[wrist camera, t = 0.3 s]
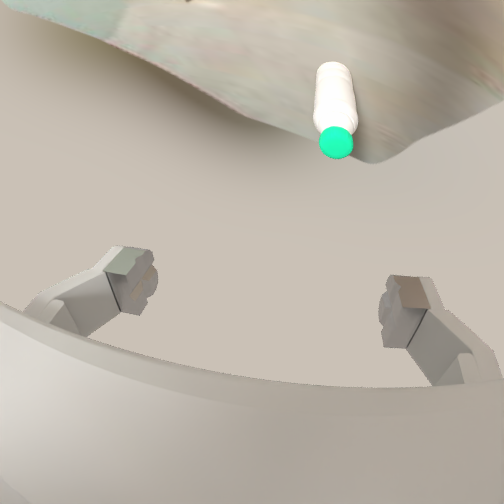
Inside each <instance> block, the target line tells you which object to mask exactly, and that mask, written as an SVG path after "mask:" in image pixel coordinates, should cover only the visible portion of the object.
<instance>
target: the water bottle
mask: <svg viewBox="0 0 504 504" xmlns="http://www.w3.org/2000/svg"><path fill="white" fill-rule="evenodd" d="M314 110H315V111H314V114H313V121H314V125H315V127H316V129H317V130H318V131H319V132H320V134H321V135H320V138H319V145H320V149H321V150H322V152H323V153H324V154H325V155H326V156H328V157H330V158H333V159H341V158H344V157H346V156H348V155H349V154H350V153H351V151H352V150H353V139H352V136H351V135H352V134H353V133H354V132H355V130H356V128H357V126H358V115H357V111H356V101H355V95H354V92H353V83H352V77H351V73H350V71H349V70H348V68H347V67H346V66H344V65H343V64H341V63H338V62H327V63H324V64H322V65H321V66H320V67H319V68H318V70H317V74H316V93H315V103H314Z"/></svg>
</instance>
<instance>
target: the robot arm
mask: <svg viewBox="0 0 504 504" xmlns="http://www.w3.org/2000/svg"><path fill="white" fill-rule="evenodd" d="M153 261H154V257H153V254H152V252H151V251H150V250H148V249H141V248H134V247H125V246H118V245H117V246H113V247H112V248H111V249H110V250H109V251H108V252H107V253H106V254H105V255H104V256H103V257H102V259H101V260H100V261H99V262H98V263H97V264H96V265H95V266H94V267H93V268H92V269H87V270H85V271H83V272H81V273H79V274H77V275H74V276H72V277H70V278H68V279H66V280H64V281H62V282H60V283H58V284H56V285H54V286H51V287H49V288H47V289H46V290H43V291H41V292H40V293H38V295H37V296H36V297H35V298H34V299H33V300H32V302H31V303H30V304H29V305H28V306H27V307H26V308H25V310H24V311H23V312H21V311H19V310H17V309H15V308H13V307H11V306H9V305H7V304H4V303H2V302H0V504H504V378H503V377H502V374H501V371H500V368H499V365H498V363H497V360H496V357H495V354H494V351H493V350H492V349H491V348H490V347H489V346H488V345H487V344H486V343H485V342H483V341H482V340H481V339H480V338H479V337H478V336H477V335H476V334H475V333H474V332H473V331H471V329H469V328H468V327H467V326H466V325H465V324H464V323H463V322H462V321H460V320H459V319H458V318H457V317H456V316H455V315H454V314H453V313H451V312H450V311H449V310H445V309H444V306H443V304H442V301H441V299H440V296H439V294H438V292H437V289H436V287H435V285H434V283H433V281H432V279H431V278H430V277H410V276H398V275H390V276H389V277H388V279H387V282H386V287H387V291H386V292H385V293H384V294H383V295H382V297H381V300H380V304H379V322H380V323H381V324H382V325H383V326H384V327H383V329H382V331H381V333H382V339H383V345H384V347H389V348H406V350H407V351H408V353H409V354H410V355H411V357H412V358H413V359H414V361H415V362H416V363H417V365H418V366H419V368H420V369H421V370H422V372H423V373H424V375H425V376H426V377H427V379H428V380H429V382H430V383H431V384H432V386H430V387H410V388H362V387H336V386H321V385H308V384H298V383H288V382H280V381H271V380H264V379H257V378H250V377H244V376H237V375H231V374H225V373H220V372H215V371H209V370H205V369H200V368H195V367H190V366H185V365H181V364H176V363H173V362H169V361H165V360H160V359H156V358H153V357H149V356H145V355H142V354H138V353H134V352H131V351H127V350H124V349H121V348H117V347H114V346H111V345H108V344H104V343H101V342H99V341H96V340H92V339H90V338H87V336H88V335H90V334H91V333H93V332H94V331H96V330H97V329H98V328H100V327H101V326H102V325H104V324H105V323H107V322H108V321H110V320H111V319H112V318H114V317H115V316H117V315H118V314H119V313H120V312H125V313H129V314H134V315H139V316H140V314H141V313H142V311H143V310H144V308H145V306H146V305H147V303H148V302H147V298H148V297H150V296H151V295H153V294H154V292H155V290H156V288H157V284H158V274H157V270H156V269H155V268H154V266H153V265H152V263H153Z"/></svg>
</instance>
